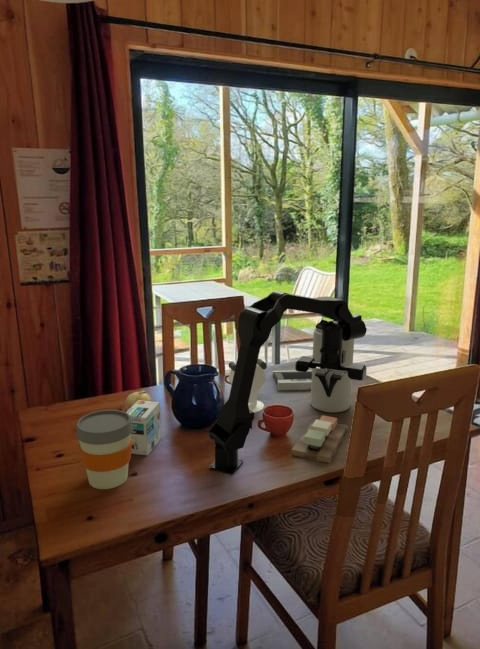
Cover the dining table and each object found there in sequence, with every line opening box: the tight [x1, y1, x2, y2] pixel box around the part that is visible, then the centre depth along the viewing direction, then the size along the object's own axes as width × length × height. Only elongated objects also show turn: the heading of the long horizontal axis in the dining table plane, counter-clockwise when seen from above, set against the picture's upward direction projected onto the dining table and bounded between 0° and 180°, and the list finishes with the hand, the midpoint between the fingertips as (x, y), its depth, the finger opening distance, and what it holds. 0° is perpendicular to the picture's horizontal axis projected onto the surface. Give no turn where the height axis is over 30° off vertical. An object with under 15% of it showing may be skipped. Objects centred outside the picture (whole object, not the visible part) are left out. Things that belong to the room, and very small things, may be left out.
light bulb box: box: [125, 400, 162, 456], centre depth 131 cm, size 11×7×11 cm, turn 168°
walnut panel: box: [291, 418, 348, 464], centre depth 134 cm, size 20×10×2 cm, turn 155°
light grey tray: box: [272, 369, 312, 391], centre depth 178 cm, size 17×5×16 cm
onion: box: [124, 388, 153, 411], centre depth 152 cm, size 8×8×7 cm
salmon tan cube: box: [318, 414, 338, 431], centre depth 139 cm, size 4×4×4 cm
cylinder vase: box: [310, 327, 355, 414], centre depth 155 cm, size 12×12×25 cm
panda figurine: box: [228, 358, 268, 414], centre depth 155 cm, size 12×11×15 cm
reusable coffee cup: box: [76, 409, 133, 490], centre depth 115 cm, size 13×13×15 cm
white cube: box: [311, 419, 332, 437], centre depth 133 cm, size 4×4×4 cm
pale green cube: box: [304, 429, 326, 450], centre depth 128 cm, size 4×4×4 cm
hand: (329, 396), depth 137 cm, fingers closed
